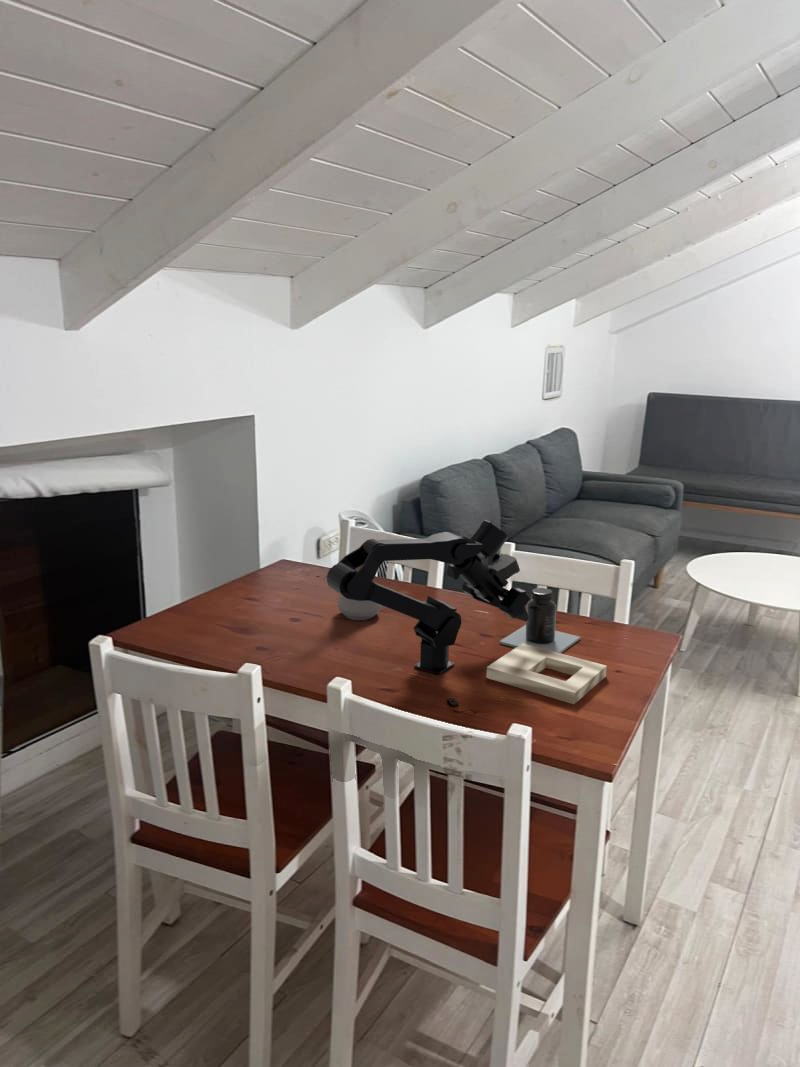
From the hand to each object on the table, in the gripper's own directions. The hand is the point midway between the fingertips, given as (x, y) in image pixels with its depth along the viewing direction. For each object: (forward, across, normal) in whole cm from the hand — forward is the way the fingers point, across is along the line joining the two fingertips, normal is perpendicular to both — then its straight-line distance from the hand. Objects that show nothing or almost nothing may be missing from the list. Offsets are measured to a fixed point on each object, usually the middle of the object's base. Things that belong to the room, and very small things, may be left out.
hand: (514, 613), depth 184 cm
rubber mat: (+12, 0, 0) cm, 12 cm away
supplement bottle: (+11, 0, 0) cm, 11 cm away
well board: (+4, -16, +8) cm, 19 cm away
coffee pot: (-12, +33, +24) cm, 43 cm away
